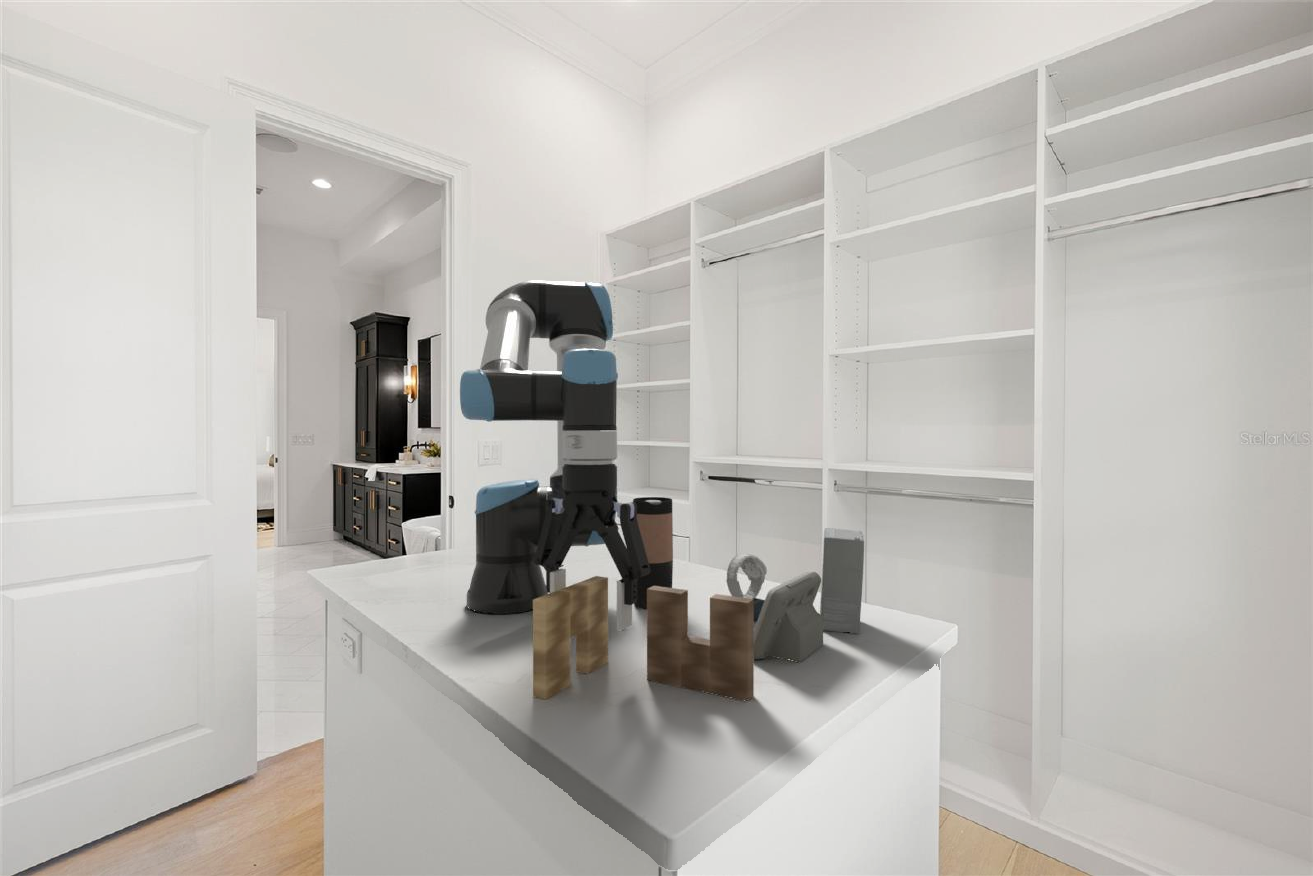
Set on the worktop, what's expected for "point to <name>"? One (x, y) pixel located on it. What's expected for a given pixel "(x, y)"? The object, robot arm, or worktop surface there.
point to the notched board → (569, 634)
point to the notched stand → (701, 644)
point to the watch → (754, 573)
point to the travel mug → (655, 544)
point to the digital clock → (790, 620)
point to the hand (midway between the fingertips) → (590, 621)
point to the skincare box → (842, 580)
